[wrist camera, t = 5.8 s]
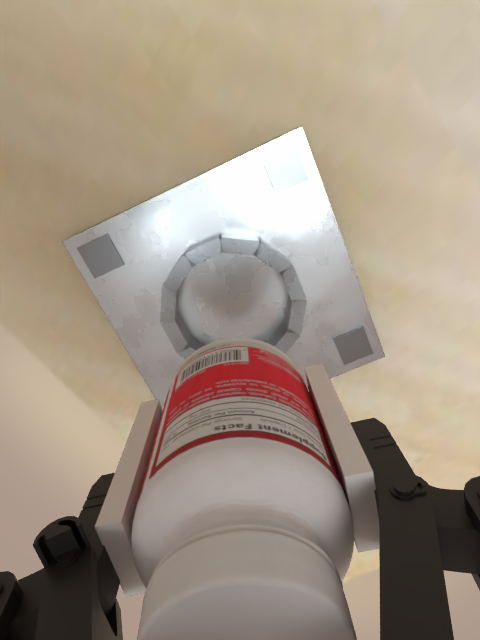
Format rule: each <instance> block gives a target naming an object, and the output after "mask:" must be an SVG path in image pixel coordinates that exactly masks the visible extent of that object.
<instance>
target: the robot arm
mask: <svg viewBox="0 0 480 640" xmlns="http://www.w3.org/2000/svg"><path fill="white" fill-rule="evenodd" d="M304 369H305V374H306V379H307V384H308V389H309V394H310V397H311V400H312V403H313V406H314V408H315V411H316V414H317V416H318V419H319V422H320V425H321V428H322V431H323V433H324V436H325V439H326V442H327V444H328V447H329V450H330V453H331V455H332V459H333V462H334V464H335V467H336V470H337V472H338V475H339V478H340V481H341V484H342V487H343V489H344V492H345V495H346V498H347V501H348V505H349V508H350V511H351V515H352V520H353V526H354V541H355V544H356V547H357V550H358V552H363V551H369V550H374V549H379V548H380V640H454V637H453V631H452V624H451V618H450V611H449V605H448V598H447V592H446V585H445V579H444V573H443V570H446V571H455V572H463V573H471V574H472V576H473V578H474V580H475V582H476V584H477V586H478V588H479V590H480V476H478V477H475V478H472V479H470V480H469V481H468V482H467V483H466V484H465V487H464V490H448V489H440V488H436V487H433V486H430V485H428V483H427V482H426V481H424V480H423V479H422V478H421V477H419V476H416V475H415V474H414V472H413V470H412V469H411V467H410V465H409V464H408V462H407V460H406V459H405V457H404V455H403V454H402V452H401V450H400V449H399V447H398V445H396V442H395V440H394V439H393V437H392V436H391V434H390V432H389V431H388V429H387V427H386V426H385V425H384V424H383V423H381V422H380V421H378V420H377V419H375V418H371V419H366V420H361V421H357V422H352V423H350V421H349V419H348V417H347V415H346V413H345V411H344V409H343V406H342V404H341V402H340V400H339V398H338V396H337V394H336V392H335V389H334V387H333V385H332V383H331V381H330V379H329V377H328V375H327V373H326V370H325V368H324V366H323V364H319V365H314V366H310V367H305V368H304ZM162 412H163V410H162V407H161V404H160V401H159V399H157V400H153V401H148V402H144V403H141V406H140V408H139V411H138V413H137V416H136V419H135V421H134V424H133V427H132V429H131V432H130V435H129V437H128V440H127V443H126V445H125V448H124V450H123V453H122V456H121V458H120V461H119V464H118V466H117V469H116V472H115V473H112V474H107V475H102V476H101V477H100V478H99V479H98V480H97V482H96V483H95V484H94V485H93V486H92V488H91V490H90V492H89V495H88V497H87V501H85V504H84V506H83V510H82V511H81V513H80V515H79V517H78V518H77V517H75V516H67V517H63V518H60V519H58V520H56V521H54V522H52V523H50V524H49V525H48V526H46V527H45V528H44V529H43V530H42V531H41V532H40V533H39V534H38V536H37V537H36V539H35V541H34V544H33V546H34V548H35V550H36V552H37V554H38V556H39V558H40V560H41V562H42V564H43V566H44V568H43V569H41V570H39V571H37V572H35V573H33V574H31V575H29V576H27V577H24V578H23V579H20V580H18V581H17V579H16V577H15V576H14V574H13V573H11V572H8V571H6V572H0V640H123V637H122V622H121V610H120V607H119V604H118V601H117V599H116V595H117V591H118V588H119V584H120V585H121V587H122V590H123V592H124V594H125V596H126V597H128V596H133V595H138V594H143V593H145V592H146V588H145V586H144V584H143V582H142V581H141V578H140V576H139V574H138V571H137V569H136V566H135V563H134V558H133V553H132V541H131V537H132V526H133V520H134V516H135V510H136V506H137V502H138V498H139V494H140V491H141V488H142V484H143V481H144V477H145V474H146V470H147V467H148V463H149V460H150V456H151V453H152V449H153V445H154V442H155V438H156V434H157V431H158V427H159V423H160V420H161V416H162Z"/></svg>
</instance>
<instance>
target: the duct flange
mask: <svg viewBox="0 0 480 640" xmlns="http://www.w3.org/2000/svg"><path fill="white" fill-rule="evenodd" d="M62 243H63V245H64V246H65V248H66V250H67V251H68V253H69V255H70V256H71V258H72V260H73V261H74V263H75V265H76V266H77V268H78V270H79V271H80V273H81V275H82V276H83V278H84V280H85V281H86V283H87V285H88V286H89V288H90V290H91V292H92V293H93V295H94V297H95V298H96V300H97V302H98V303H99V305H100V307H101V308H102V310H103V312H104V313H105V315H106V317H107V318H108V320H109V322H110V323H111V325H112V327H113V328H114V330H115V332H116V333H117V335H118V337H119V339H120V340H121V342H122V344H123V345H124V347H125V349H126V350H127V352H128V354H129V355H130V357H131V359H132V360H133V362H134V364H135V365H136V367H137V369H138V370H139V372H140V374H141V375H142V377H143V379H144V380H145V382H146V384H147V386H148V387H149V389H150V391H151V392H152V394H153V396H154V397H155V399H156V400H157V399H159V401H160V404H161V407H162V410H163V408H164V404H165V400H166V397H167V394H168V390H169V387H170V384H171V382H172V379H173V377H174V375H175V373H176V371H177V370H178V368H179V367H180V366H181V364H182V363H183V362H184V361H185V360H186V359H187V357H189V356H190V355H191V354H192V353H193V352H195V351H196V350H198V349H199V348H201V347H203V346H205V345H207V344H209V343H211V342H214V341H217V340H221V339H225V338H235V337H240V338H251V339H256V340H260V341H263V342H266V343H268V344H270V345H272V346H274V347H276V348H278V349H279V350H281V351H282V352H283V353H284V354H286V355H287V356H288V357H289V358H290V359H291V360H292V361H293V362H294V364H295V365H296V366H297V368H298V369H299V371H300V373H301V375H302V377H303V379H304V381H305V384H306V386H307V388H308V384H307V379H306V374H305V369H304V368H305V367H310V366H314V365H319V364H323V366H324V368H325V370H326V373H327V375H328V377H329V379H330V378H333V377H335V376H338V375H340V374H343V373H345V372H348V371H350V370H353V369H355V368H358V367H360V366H363V365H365V364H368V363H370V362H373V361H375V360H378V359H380V358H383V357H385V354H384V352H383V349H382V346H381V343H380V341H379V338H378V335H377V332H376V330H375V327H374V324H373V321H372V319H371V316H370V313H369V310H368V307H367V305H366V302H365V299H364V296H363V294H362V291H361V288H360V285H359V283H358V280H357V277H356V274H355V272H354V269H353V266H352V263H351V260H350V258H349V255H348V252H347V249H346V247H345V244H344V241H343V238H342V236H341V233H340V230H339V227H338V225H337V222H336V219H335V216H334V213H333V211H332V208H331V205H330V202H329V200H328V197H327V194H326V191H325V189H324V186H323V183H322V180H321V178H320V175H319V172H318V169H317V166H316V164H315V161H314V158H313V155H312V153H311V150H310V147H309V144H308V142H307V139H306V136H305V133H304V131H303V128H302V127H300V128H298V129H296V130H294V131H291V132H289V133H287V134H285V135H283V136H281V137H279V138H277V139H275V140H273V141H271V142H269V143H266V144H264V145H262V146H260V147H258V148H256V149H254V150H252V151H250V152H248V153H246V154H244V155H241V156H239V157H237V158H235V159H233V160H231V161H229V162H227V163H225V164H223V165H221V166H218V167H216V168H214V169H212V170H210V171H208V172H206V173H204V174H202V175H200V176H198V177H196V178H193V179H191V180H189V181H187V182H185V183H183V184H181V185H179V186H177V187H175V188H173V189H171V190H168V191H166V192H164V193H162V194H160V195H158V196H156V197H154V198H152V199H150V200H148V201H146V202H143V203H141V204H139V205H137V206H135V207H133V208H131V209H129V210H127V211H125V212H123V213H121V214H118V215H116V216H114V217H112V218H110V219H108V220H106V221H104V222H102V223H100V224H98V225H96V226H93V227H91V228H89V229H87V230H85V231H83V232H81V233H79V234H77V235H75V236H73V237H71V238H68V239H66V240H64V241H62Z"/></svg>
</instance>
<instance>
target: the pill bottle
mask: <svg viewBox="0 0 480 640" xmlns="http://www.w3.org/2000/svg"><path fill="white" fill-rule="evenodd" d="M131 541H132V553H133V558H134V563H135V566H136V569H137V571H138V574H139V576H140V578H141V581H142V582H143V584H144V586H145V588H146V592H145V595H144V600H143V606H142V613H141V620H140V626H139V631H138V637H137V640H357V639H356V634H355V630H354V626H353V623H352V620H351V615H350V611H349V608H348V604H347V601H346V598H345V594H344V592H343V585H342V580H343V579H344V577H345V574H346V572H347V570H348V568H349V565H350V561H351V558H352V553H353V546H354V526H353V520H352V515H351V511H350V508H349V505H348V501H347V498H346V495H345V492H344V489H343V487H342V484H341V481H340V478H339V475H338V472H337V470H336V467H335V464H334V462H333V459H332V455H331V453H330V450H329V447H328V444H327V442H326V439H325V436H324V433H323V431H322V428H321V425H320V422H319V419H318V416H317V414H316V411H315V408H314V406H313V403H312V400H311V397H310V395H309V392H308V389H307V386H306V384H305V381H304V379H303V377H302V375H301V373H300V371H299V369H298V368H297V366H296V365H295V364H294V362H293V361H292V360H291V359H290V358H289V357H288V356H287V355H286V354H284V353H283V352H282V351H281V350H279V349H278V348H276V347H274V346H272V345H270V344H268V343H266V342H263V341H260V340H256V339H251V338H240V337H235V338H225V339H221V340H217V341H214V342H211V343H209V344H207V345H205V346H203V347H201V348H199V349H198V350H196V351H195V352H193V353H192V354H191V355H190V356H189V357H187V359H186V360H185V361H184V362H183V363H182V364H181V366H180V367H179V368H178V370H177V371H176V373H175V375H174V377H173V379H172V382H171V384H170V387H169V390H168V394H167V397H166V400H165V404H164V408H163V412H162V416H161V420H160V423H159V427H158V431H157V434H156V438H155V442H154V445H153V449H152V453H151V456H150V460H149V463H148V467H147V470H146V474H145V477H144V481H143V484H142V488H141V491H140V494H139V498H138V502H137V506H136V510H135V516H134V520H133V526H132V537H131Z"/></svg>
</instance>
